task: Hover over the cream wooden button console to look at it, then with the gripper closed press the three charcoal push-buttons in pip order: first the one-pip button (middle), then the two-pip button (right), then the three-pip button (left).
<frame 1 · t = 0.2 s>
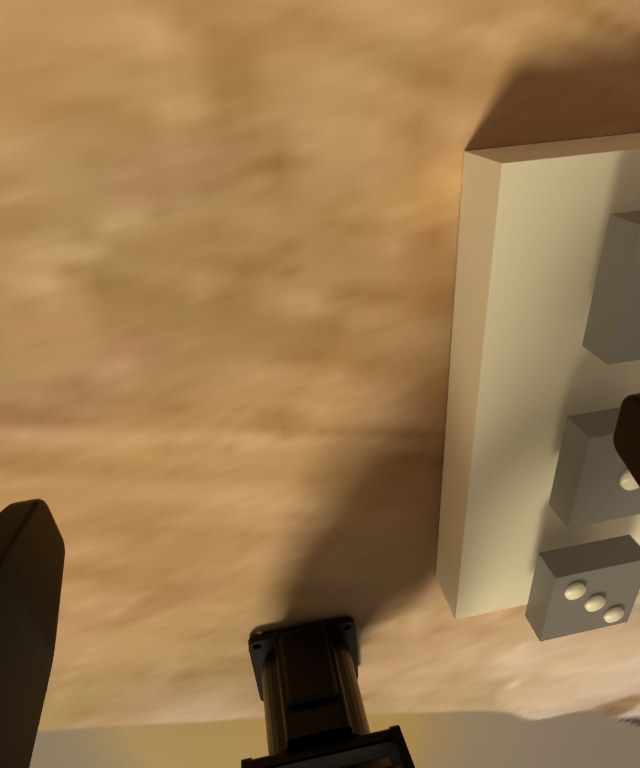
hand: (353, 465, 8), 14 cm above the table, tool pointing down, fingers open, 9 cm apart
button one pip: (622, 465, 22), point 5 cm above the table, slide at 0.0 cm
button three pips: (585, 590, 26), point 5 cm above the table, slide at 0.0 cm
console: (550, 397, 27), on the table
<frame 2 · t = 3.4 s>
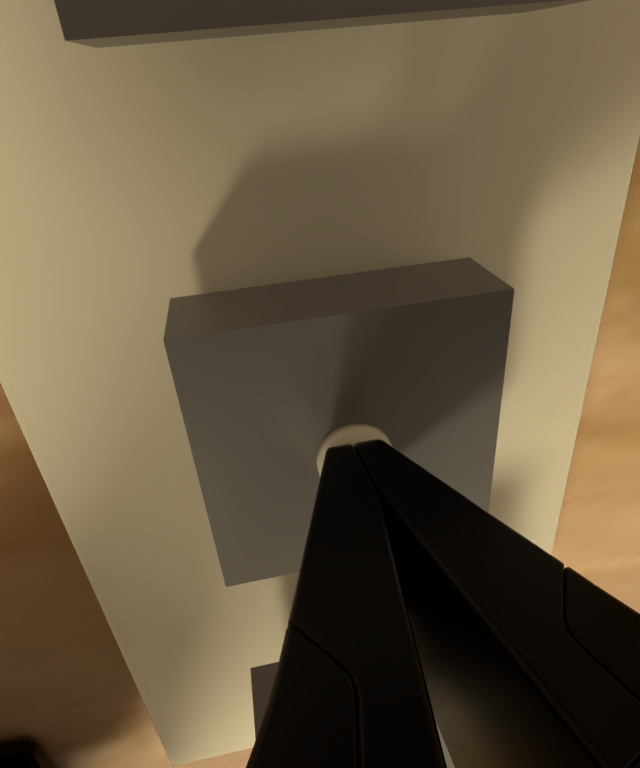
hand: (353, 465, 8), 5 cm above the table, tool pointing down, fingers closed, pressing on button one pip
button one pip: (344, 431, 9), point 4 cm above the table, slide at 1.0 cm, touching gripper
button three pips: (373, 741, 12), point 5 cm above the table, slide at 0.0 cm
console: (303, 324, 13), on the table
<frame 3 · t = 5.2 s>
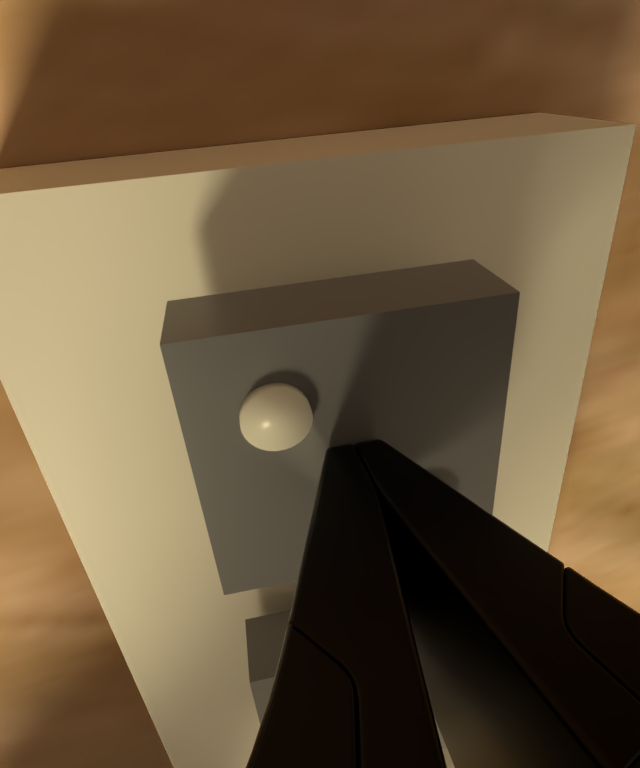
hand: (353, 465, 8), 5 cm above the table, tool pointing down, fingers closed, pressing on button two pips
button two pips: (345, 436, 9), point 5 cm above the table, slide at 0.7 cm, touching gripper
button one pip: (359, 690, 13), point 4 cm above the table, slide at 1.1 cm
console: (325, 553, 17), on the table
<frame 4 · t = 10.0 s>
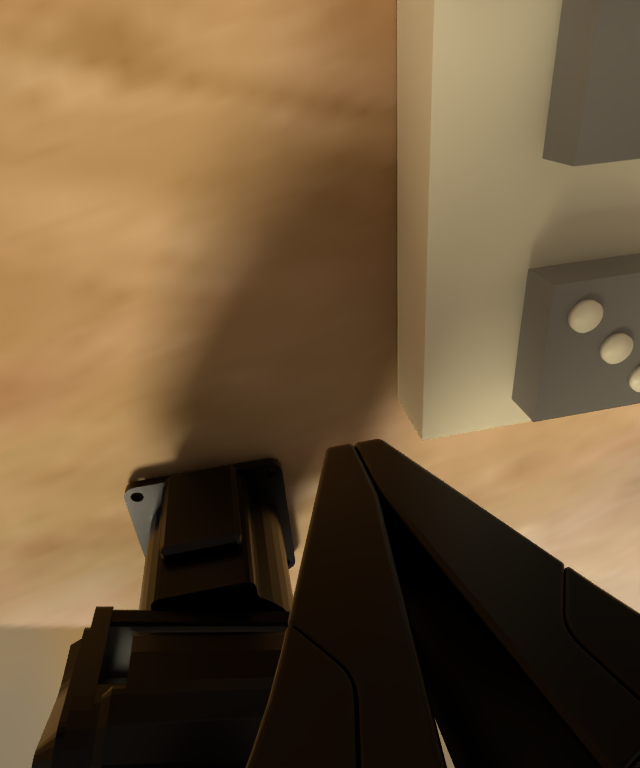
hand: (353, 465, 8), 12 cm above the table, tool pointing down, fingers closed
button three pips: (601, 338, 17), point 4 cm above the table, slide at 1.1 cm
console: (563, 54, 17), on the table
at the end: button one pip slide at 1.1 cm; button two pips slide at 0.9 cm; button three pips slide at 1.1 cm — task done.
